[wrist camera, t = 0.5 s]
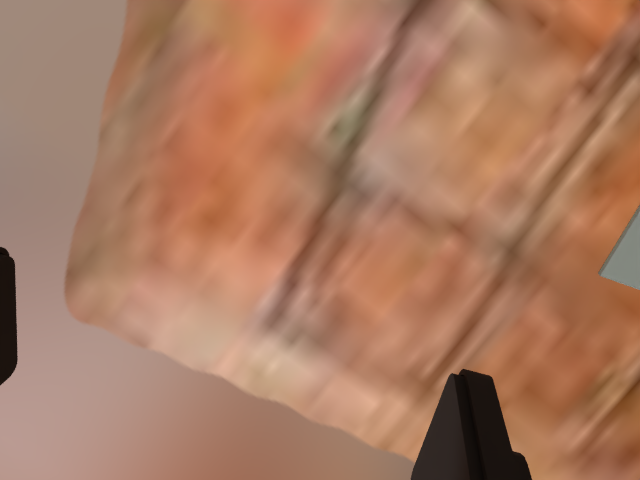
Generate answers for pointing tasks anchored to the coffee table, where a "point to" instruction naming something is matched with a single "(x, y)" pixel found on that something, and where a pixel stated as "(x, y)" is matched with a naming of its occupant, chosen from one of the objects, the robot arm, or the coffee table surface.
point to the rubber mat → (625, 256)
